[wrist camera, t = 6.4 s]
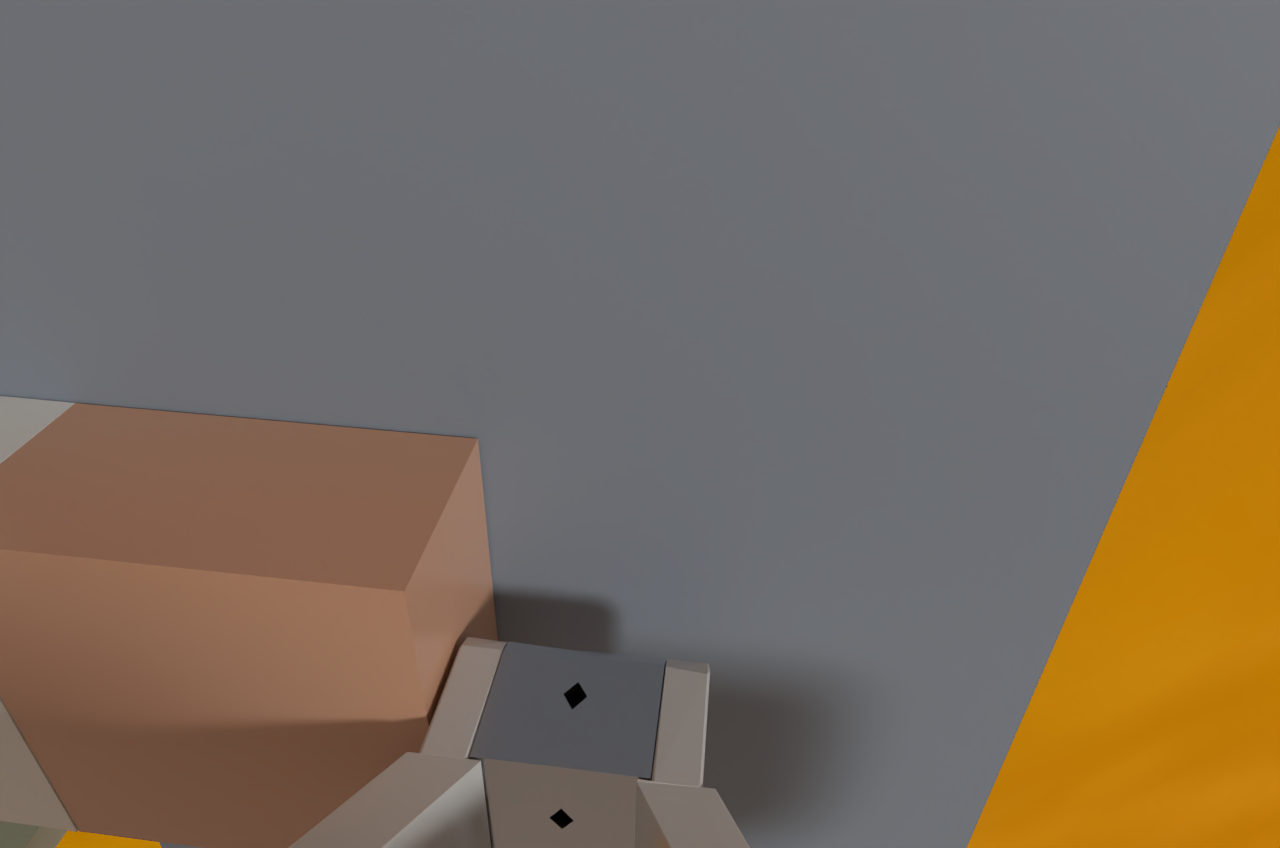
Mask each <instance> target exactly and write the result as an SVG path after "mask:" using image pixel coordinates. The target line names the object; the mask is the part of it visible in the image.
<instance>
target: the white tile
mask: <svg viewBox="0 0 1280 848" xmlns="http://www.w3.org/2000/svg"><path fill="white" fill-rule="evenodd" d="M74 404H75V403H71V402H60V401H50V400H39V399H28V398H18V397H7V396H0V464H1V463H2V462H3V461H5V460H6V459H7V458H8V457H9V456H11V455H12V454H13V453H14V452H16V451H17V450H18V449H19V448H21V447H22V446H23V445H24V444H26V443H27V442H28V441H29V440H30V439H32V438H33V437H34V436H35V435H37V434H38V433H39V432H40V431H42V430H43V429H44V428H45V427H46V426H48V425H49V424H50V423H51V422H53V421H54V420H55V419H56V418H58V417H59V416H60V415H61V414H62V413H64V412H65V411H66V410H67V409H69V408H70V407H71V406H72V405H74ZM0 821H6V822H13V823H20V824H27V825H34V826H41V827H48V828H54V829H61V830H68V831H75V832H77V831H78V830H79V829H78V827H77V826H76V824H75V822H74V821H73V819H72V817H71V816H70V814H69V812H68V810H67V809H66V807H65V805H64V804H63V802H62V800H61V799H60V797H59V795H58V793H57V792H56V790H55V788H54V787H53V785H52V783H51V782H50V780H49V778H48V777H47V775H46V773H45V771H44V770H43V768H42V766H41V765H40V763H39V761H38V760H37V758H36V756H35V755H34V753H33V751H32V749H31V748H30V746H29V744H28V743H27V741H26V739H25V738H24V736H23V734H22V733H21V731H20V729H19V727H18V726H17V724H16V722H15V721H14V719H13V717H12V716H11V714H10V712H9V711H8V709H7V707H6V705H5V704H4V702H3V700H2V699H1V697H0Z"/></svg>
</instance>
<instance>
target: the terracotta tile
mask: <svg viewBox="0 0 1280 848" xmlns="http://www.w3.org/2000/svg"><path fill="white" fill-rule="evenodd" d="M467 637H474V638H482V639H490V640H498V635H497V625H496V615H495V605H494V595H493V585H492V574H491V564H490V554H489V544H488V534H487V524H486V514H485V504H484V493H483V483H482V473H481V463H480V453H479V443H478V439H475V438H464V437H453V436H441V435H430V434H419V433H408V432H396V431H385V430H374V429H362V428H351V427H340V426H329V425H317V424H306V423H295V422H283V421H272V420H261V419H249V418H238V417H227V416H216V415H204V414H193V413H182V412H170V411H159V410H148V409H136V408H125V407H114V406H103V405H91V404H80V403H75V404H74V405H72V406H71V407H70V408H69V409H67V410H66V411H65V412H64V413H62V414H61V415H60V416H59V417H58V418H56V419H55V420H54V421H53V422H51V423H50V424H49V425H48V426H46V427H45V428H44V429H43V430H42V431H40V432H39V433H38V434H37V435H35V436H34V437H33V438H32V439H30V440H29V441H28V442H27V443H26V444H24V445H23V446H22V447H21V448H19V449H18V450H17V451H16V452H14V453H13V454H12V455H11V456H9V457H8V458H7V459H6V460H5V461H3V462H2V463H1V464H0V697H1V699H2V700H3V702H4V704H5V705H6V707H7V709H8V711H9V712H10V714H11V716H12V717H13V719H14V721H15V722H16V724H17V726H18V727H19V729H20V731H21V733H22V734H23V736H24V738H25V739H26V741H27V743H28V744H29V746H30V748H31V749H32V751H33V753H34V755H35V756H36V758H37V760H38V761H39V763H40V765H41V766H42V768H43V770H44V771H45V773H46V775H47V777H48V778H49V780H50V782H51V783H52V785H53V787H54V788H55V790H56V792H57V793H58V795H59V797H60V799H61V800H62V802H63V804H64V805H65V807H66V809H67V810H68V812H69V814H70V816H71V817H72V819H73V821H74V822H75V824H76V826H77V827H78V829H79V831H82V832H89V833H97V834H104V835H112V836H119V837H127V838H134V839H142V840H149V841H157V842H164V843H172V844H179V845H187V846H194V847H201V848H288V847H290V846H291V845H292V844H293V843H295V842H296V841H297V840H298V839H300V838H301V837H302V836H303V835H305V834H306V833H307V832H308V831H309V830H311V829H312V828H313V827H314V826H316V825H317V824H318V823H319V822H321V821H322V820H323V819H324V818H325V817H327V816H328V815H329V814H330V813H332V812H333V811H334V810H335V809H337V808H338V807H339V806H340V805H342V804H343V803H344V802H345V801H346V800H348V799H349V798H350V797H351V796H353V795H354V794H355V793H356V792H358V791H359V790H360V789H361V788H362V787H364V786H365V785H366V784H367V783H369V782H370V781H371V780H372V779H374V778H375V777H376V776H377V775H379V774H380V773H381V772H382V771H383V770H385V769H386V768H387V767H388V766H390V765H391V764H392V763H393V762H395V761H396V760H397V759H398V758H399V757H401V756H402V755H403V754H404V753H406V752H418V753H419V752H420V749H421V747H422V744H423V742H424V739H425V736H426V734H427V731H428V728H429V726H430V723H431V721H432V718H433V715H434V713H435V710H436V708H437V705H438V702H439V700H440V697H441V694H442V692H443V689H444V687H445V684H446V681H447V679H448V676H449V674H450V671H451V668H452V666H453V663H454V660H455V658H456V655H457V653H458V650H459V648H460V646H461V645H462V644H463V642H464V641H465V640H466V638H467Z"/></svg>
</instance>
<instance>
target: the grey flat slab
mask: <svg viewBox="0 0 1280 848" xmlns="http://www.w3.org/2000/svg"><path fill="white" fill-rule="evenodd" d="M1279 125H1280V0H0V396H7V397H18V398H28V399H39V400H50V401H60V402H71V403H80V404H91V405H103V406H114V407H125V408H136V409H148V410H159V411H170V412H182V413H193V414H204V415H216V416H227V417H238V418H249V419H261V420H272V421H283V422H295V423H306V424H317V425H329V426H340V427H351V428H362V429H374V430H385V431H396V432H408V433H419V434H430V435H441V436H453V437H464V438H475V439H478V443H479V453H480V463H481V473H482V483H483V493H484V504H485V514H486V524H487V534H488V544H489V554H490V564H491V574H492V585H493V595H494V605H495V615H496V625H497V635H498V641H506V642H516V643H523V644H531V645H538V646H545V647H553V648H560V649H568V650H575V651H582V652H585V651H594V652H605V653H615V654H626V655H636V656H647V657H657V658H666V664H667V659H671V660H680V661H689V662H699V663H708V664H709V667H710V680H709V696H708V711H707V727H706V742H705V758H704V774H703V787H707V788H713V789H716V790H717V792H718V794H719V796H720V797H721V799H722V801H723V802H724V804H725V806H726V808H727V809H728V811H729V813H730V814H731V816H732V818H733V820H734V821H735V823H736V825H737V826H738V828H739V830H740V832H741V833H742V835H743V837H744V838H745V840H746V842H747V844H748V845H749V847H750V848H966V847H967V845H968V843H969V840H970V838H971V836H972V833H973V831H974V829H975V826H976V824H977V822H978V820H979V817H980V815H981V813H982V810H983V808H984V806H985V803H986V801H987V799H988V796H989V794H990V792H991V790H992V787H993V785H994V783H995V780H996V778H997V776H998V773H999V771H1000V769H1001V767H1002V764H1003V762H1004V760H1005V757H1006V755H1007V753H1008V750H1009V748H1010V746H1011V743H1012V741H1013V739H1014V737H1015V734H1016V732H1017V730H1018V727H1019V725H1020V723H1021V720H1022V718H1023V716H1024V713H1025V711H1026V709H1027V707H1028V704H1029V702H1030V700H1031V697H1032V695H1033V693H1034V690H1035V688H1036V686H1037V683H1038V681H1039V679H1040V677H1041V674H1042V672H1043V670H1044V667H1045V665H1046V663H1047V660H1048V658H1049V656H1050V653H1051V651H1052V649H1053V647H1054V644H1055V642H1056V640H1057V637H1058V635H1059V633H1060V630H1061V628H1062V626H1063V624H1064V621H1065V619H1066V617H1067V614H1068V612H1069V610H1070V607H1071V605H1072V603H1073V600H1074V598H1075V596H1076V594H1077V591H1078V589H1079V587H1080V584H1081V582H1082V580H1083V577H1084V575H1085V573H1086V570H1087V568H1088V566H1089V564H1090V561H1091V559H1092V557H1093V554H1094V552H1095V550H1096V547H1097V545H1098V543H1099V540H1100V538H1101V536H1102V534H1103V531H1104V529H1105V527H1106V524H1107V522H1108V520H1109V517H1110V515H1111V513H1112V510H1113V508H1114V506H1115V504H1116V501H1117V499H1118V497H1119V494H1120V492H1121V490H1122V487H1123V485H1124V483H1125V480H1126V478H1127V476H1128V474H1129V471H1130V469H1131V467H1132V464H1133V462H1134V460H1135V457H1136V455H1137V453H1138V451H1139V448H1140V446H1141V444H1142V441H1143V439H1144V437H1145V434H1146V432H1147V430H1148V427H1149V425H1150V423H1151V421H1152V418H1153V416H1154V414H1155V411H1156V409H1157V407H1158V404H1159V402H1160V400H1161V397H1162V395H1163V393H1164V391H1165V388H1166V386H1167V384H1168V381H1169V379H1170V377H1171V374H1172V372H1173V370H1174V367H1175V365H1176V363H1177V361H1178V358H1179V356H1180V354H1181V351H1182V349H1183V347H1184V344H1185V342H1186V340H1187V337H1188V335H1189V333H1190V331H1191V328H1192V326H1193V324H1194V321H1195V319H1196V317H1197V314H1198V312H1199V310H1200V307H1201V305H1202V303H1203V301H1204V298H1205V296H1206V294H1207V291H1208V289H1209V287H1210V284H1211V282H1212V280H1213V278H1214V275H1215V273H1216V271H1217V268H1218V266H1219V264H1220V261H1221V259H1222V257H1223V254H1224V252H1225V250H1226V248H1227V245H1228V243H1229V241H1230V238H1231V236H1232V234H1233V231H1234V229H1235V227H1236V224H1237V222H1238V220H1239V218H1240V215H1241V213H1242V211H1243V208H1244V206H1245V204H1246V201H1247V199H1248V197H1249V194H1250V192H1251V190H1252V188H1253V185H1254V183H1255V181H1256V178H1257V176H1258V174H1259V171H1260V169H1261V167H1262V164H1263V162H1264V160H1265V158H1266V155H1267V153H1268V151H1269V148H1270V146H1271V144H1272V141H1273V139H1274V137H1275V134H1276V132H1277V130H1278V128H1279ZM160 844H161V846H162V848H201V847H194V846H187V845H179V844H172V843H164V842H160Z"/></svg>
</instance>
